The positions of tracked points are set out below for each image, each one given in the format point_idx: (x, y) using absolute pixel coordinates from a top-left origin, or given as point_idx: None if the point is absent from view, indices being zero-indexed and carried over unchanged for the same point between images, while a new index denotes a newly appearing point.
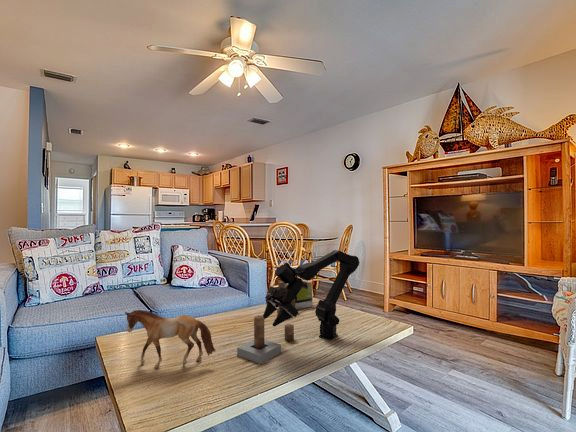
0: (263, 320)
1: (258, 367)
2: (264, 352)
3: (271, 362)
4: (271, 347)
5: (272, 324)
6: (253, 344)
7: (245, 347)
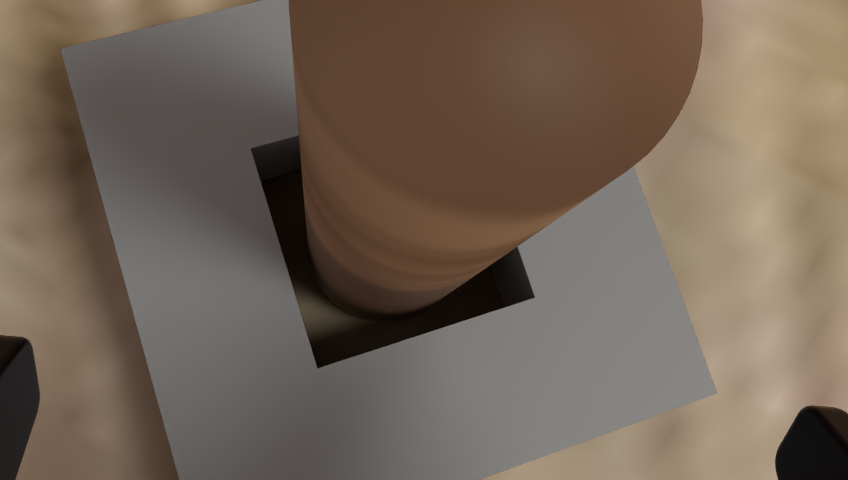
0: (307, 108)
1: (33, 30)
2: (118, 161)
3: (36, 243)
4: (211, 361)
5: (23, 341)
6: None
7: None
